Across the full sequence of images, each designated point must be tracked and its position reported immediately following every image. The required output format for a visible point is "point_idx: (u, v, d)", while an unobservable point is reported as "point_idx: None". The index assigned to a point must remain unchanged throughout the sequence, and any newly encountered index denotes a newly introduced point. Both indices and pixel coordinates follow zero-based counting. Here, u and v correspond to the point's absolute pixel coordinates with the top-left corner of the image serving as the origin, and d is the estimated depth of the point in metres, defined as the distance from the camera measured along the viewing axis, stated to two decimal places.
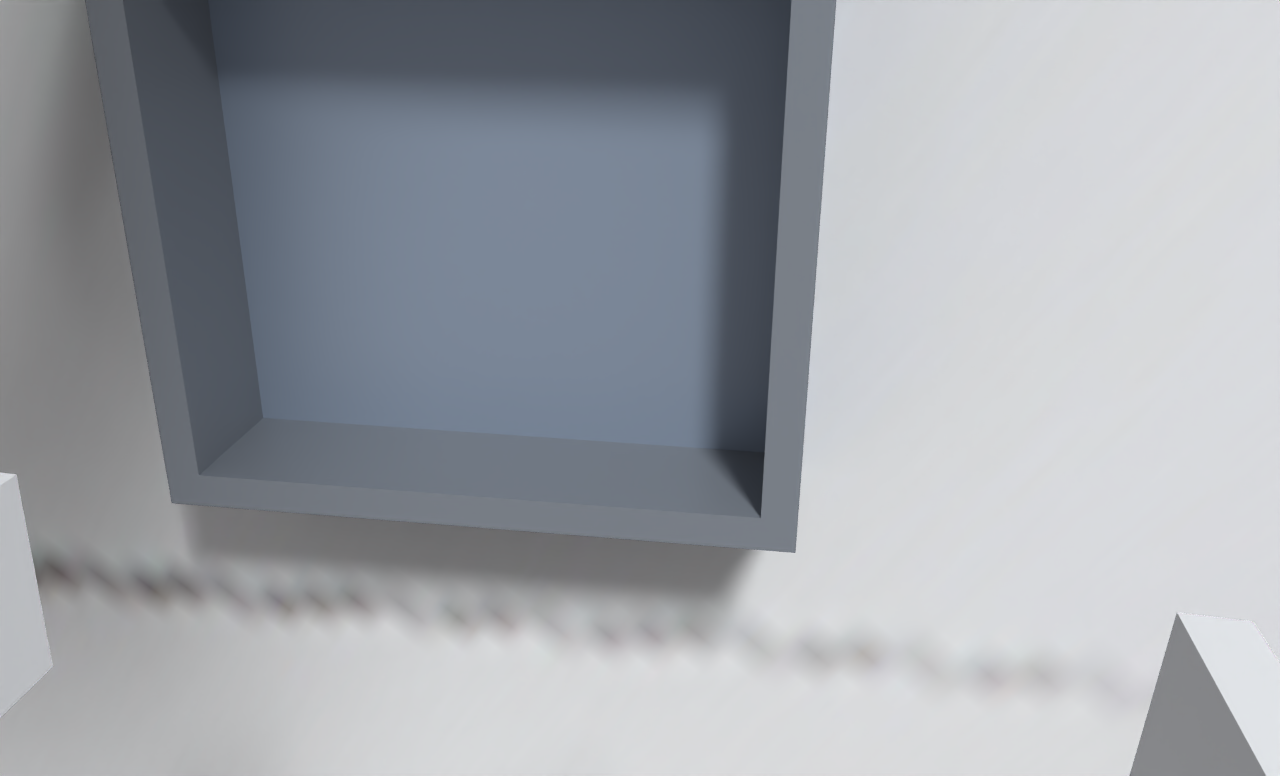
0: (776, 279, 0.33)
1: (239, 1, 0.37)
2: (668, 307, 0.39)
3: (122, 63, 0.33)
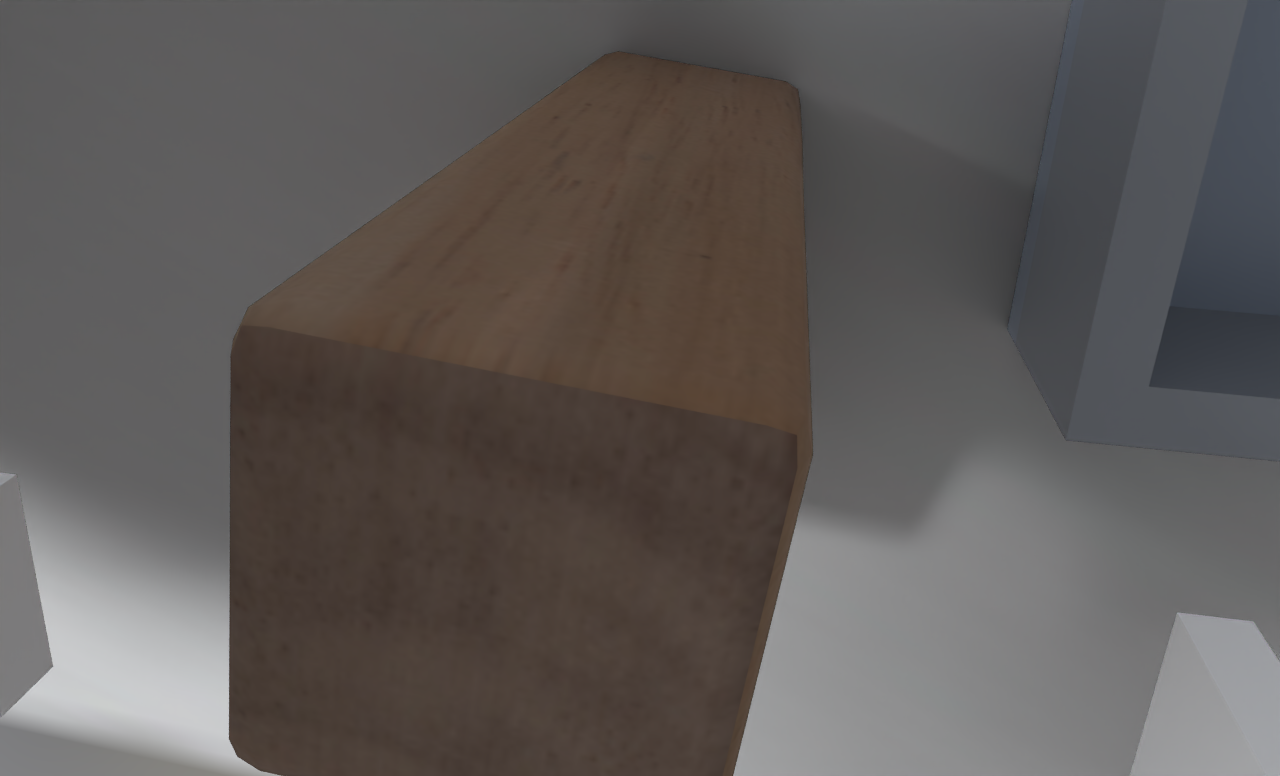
0: None
1: (1197, 257, 0.23)
2: None
3: None
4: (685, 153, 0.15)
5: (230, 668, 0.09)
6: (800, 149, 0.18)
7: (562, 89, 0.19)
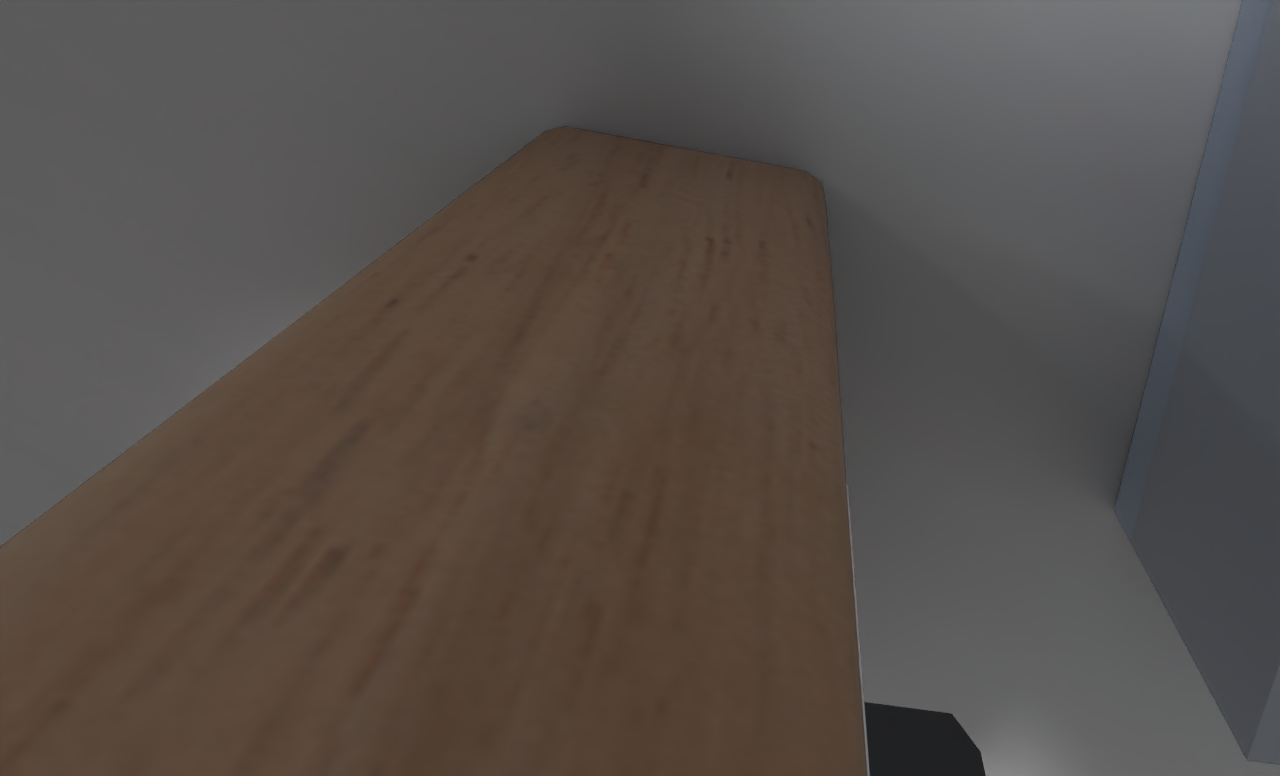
0: None
1: None
2: None
3: None
4: (619, 392, 0.08)
5: None
6: (833, 328, 0.11)
7: (443, 217, 0.12)
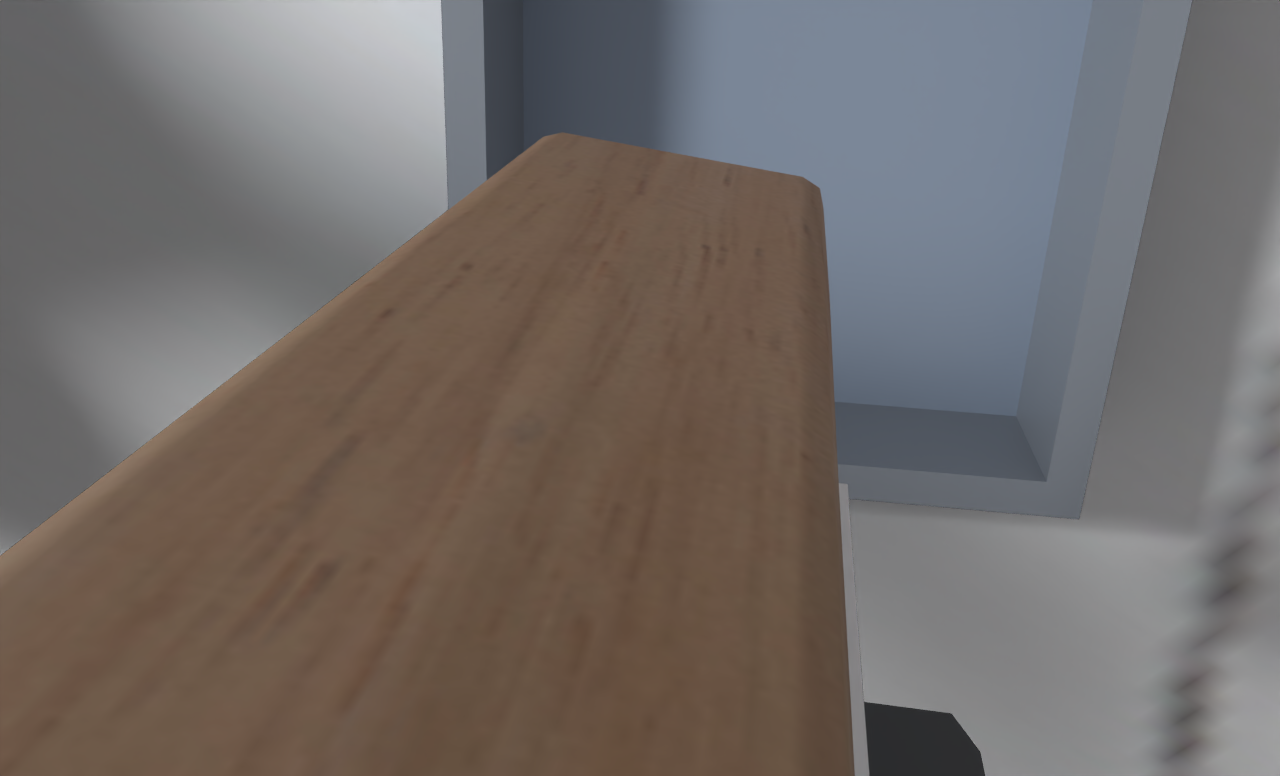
0: None
1: None
2: None
3: None
4: (613, 403, 0.08)
5: None
6: (828, 336, 0.11)
7: (439, 225, 0.12)
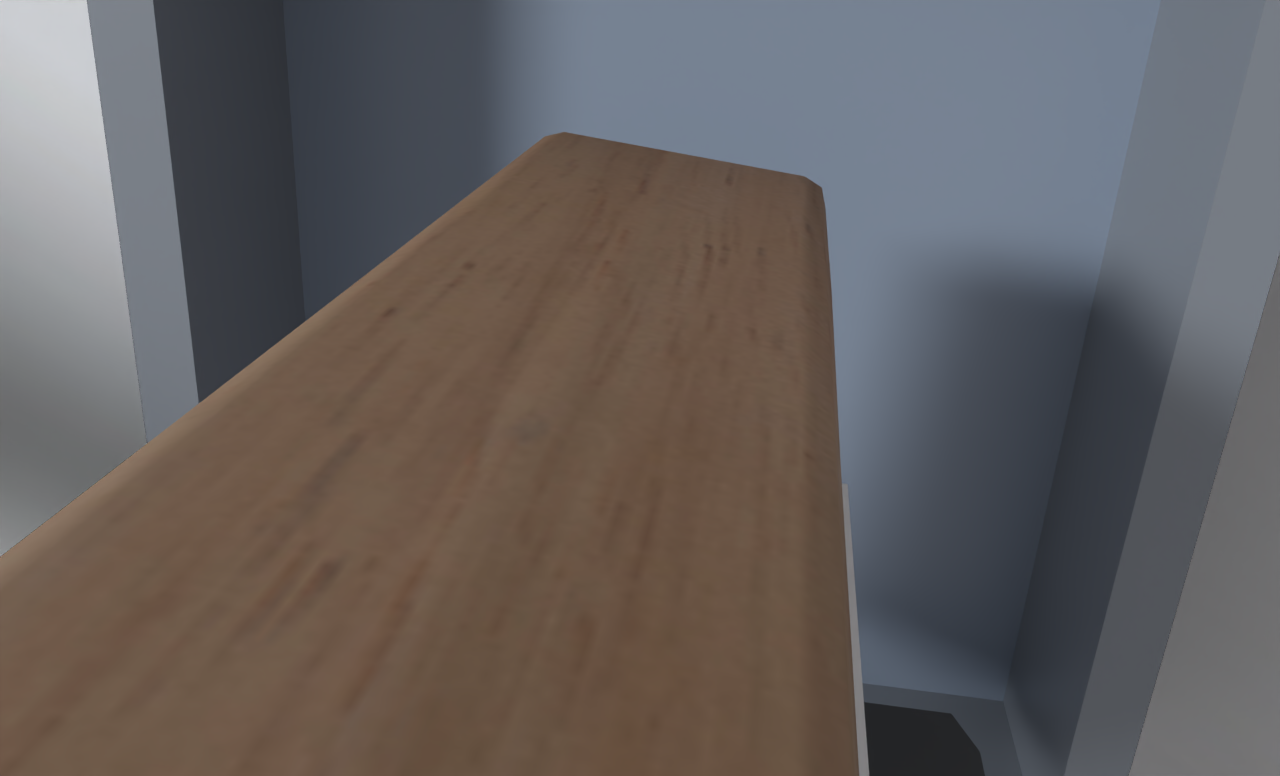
0: None
1: None
2: (867, 18, 0.22)
3: None
4: (615, 402, 0.08)
5: None
6: (831, 335, 0.11)
7: (441, 224, 0.12)
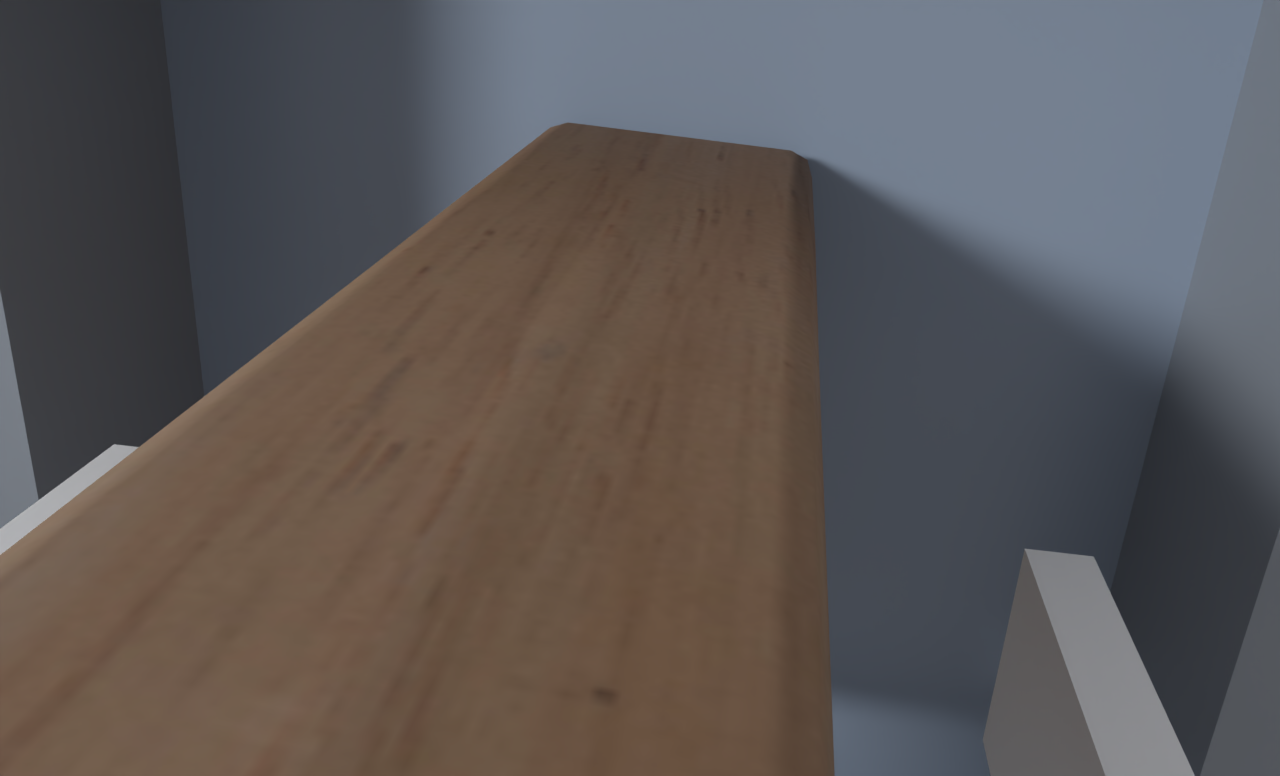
0: None
1: None
2: (885, 41, 0.17)
3: None
4: (622, 329, 0.09)
5: None
6: (812, 278, 0.12)
7: (462, 202, 0.13)
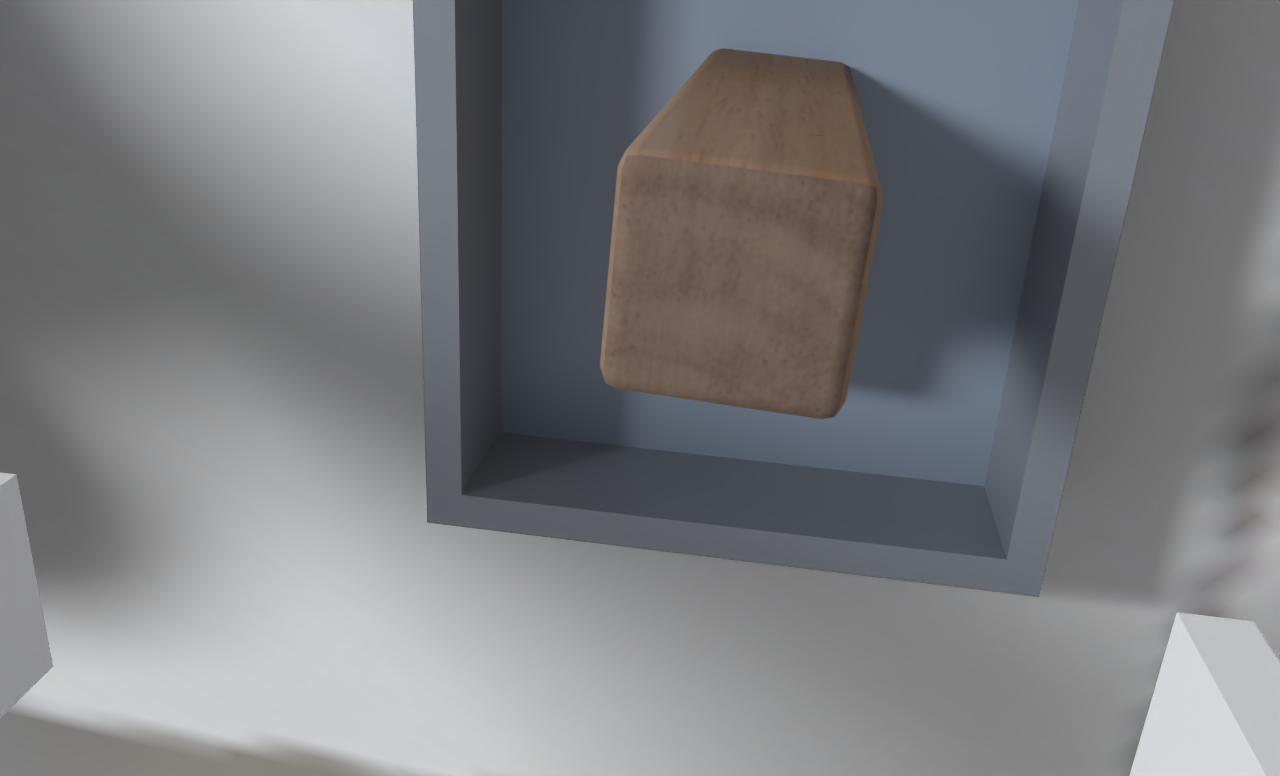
0: None
1: (558, 411, 0.40)
2: (891, 4, 0.33)
3: (570, 517, 0.36)
4: (791, 98, 0.26)
5: (608, 331, 0.20)
6: None
7: (700, 70, 0.29)
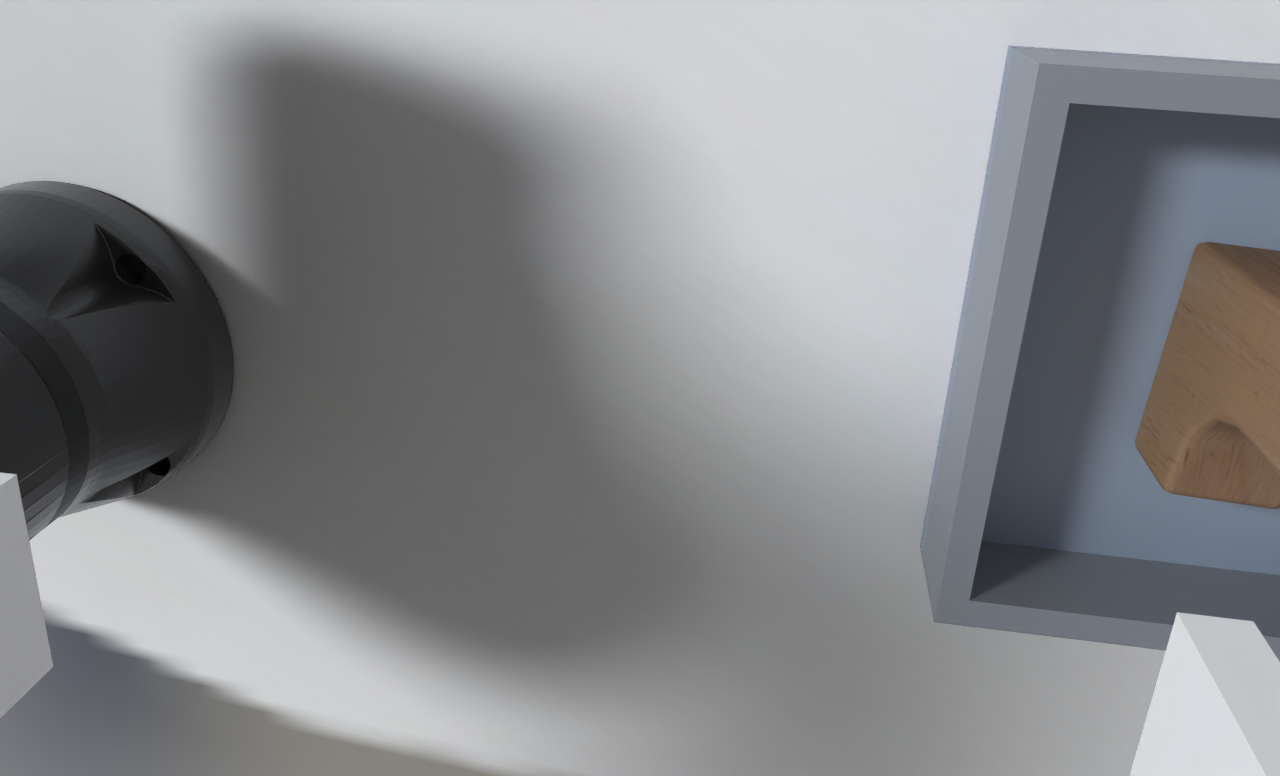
0: None
1: (1008, 521, 0.48)
2: None
3: (1062, 619, 0.44)
4: None
5: None
6: None
7: (1260, 286, 0.37)
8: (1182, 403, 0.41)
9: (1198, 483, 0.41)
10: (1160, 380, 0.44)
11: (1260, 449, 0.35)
